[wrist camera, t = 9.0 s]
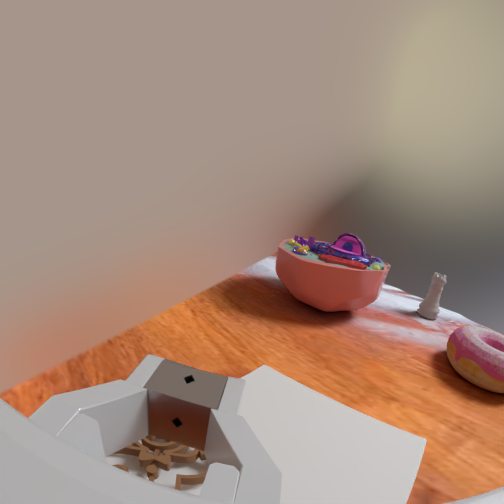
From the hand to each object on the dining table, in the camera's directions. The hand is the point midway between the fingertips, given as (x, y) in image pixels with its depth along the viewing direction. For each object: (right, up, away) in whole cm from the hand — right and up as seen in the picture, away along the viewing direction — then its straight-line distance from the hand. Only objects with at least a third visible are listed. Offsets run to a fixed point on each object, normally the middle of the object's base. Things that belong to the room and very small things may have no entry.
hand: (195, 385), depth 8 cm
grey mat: (+4, -9, +6) cm, 12 cm away
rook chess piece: (+34, -8, +40) cm, 53 cm away
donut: (+31, -12, +20) cm, 39 cm away
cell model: (+13, -4, +38) cm, 40 cm away
